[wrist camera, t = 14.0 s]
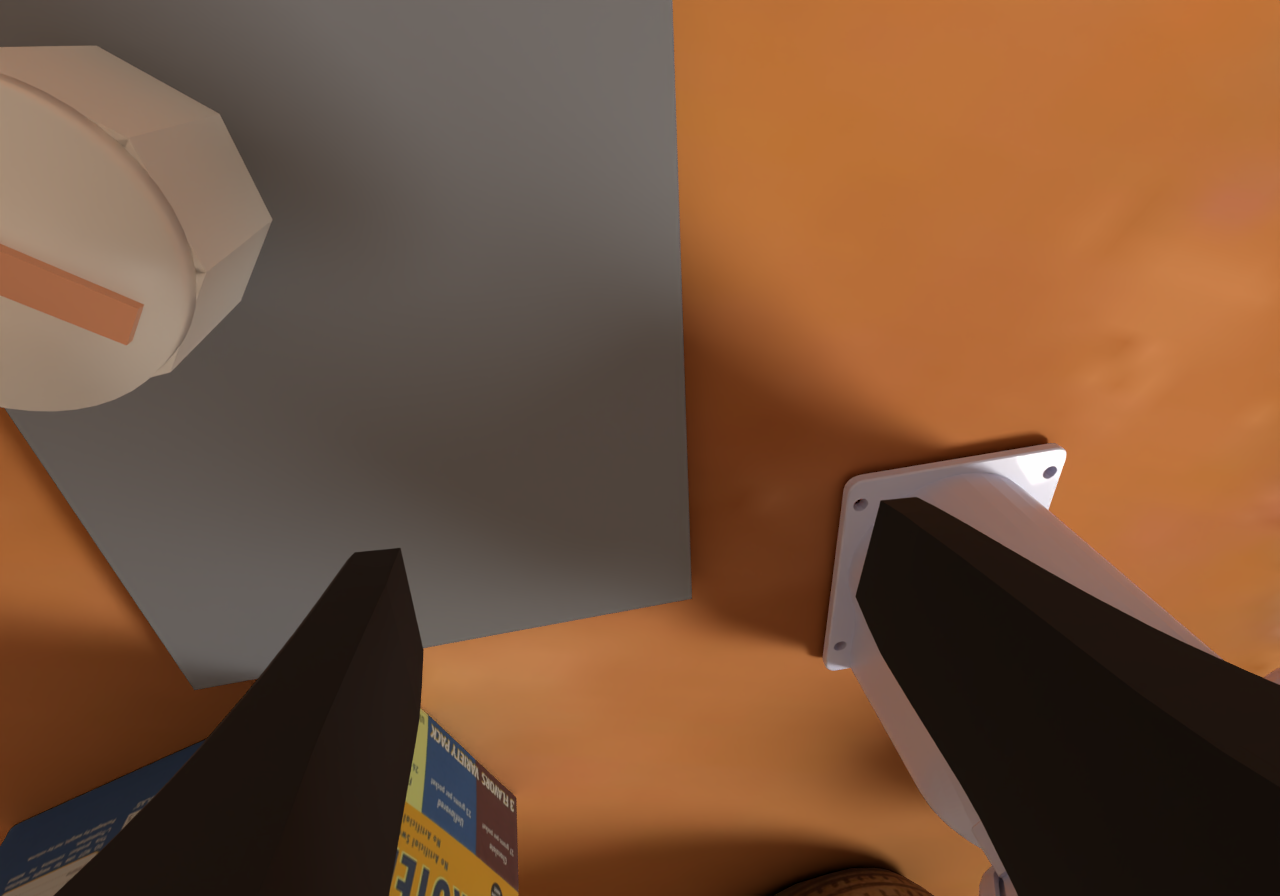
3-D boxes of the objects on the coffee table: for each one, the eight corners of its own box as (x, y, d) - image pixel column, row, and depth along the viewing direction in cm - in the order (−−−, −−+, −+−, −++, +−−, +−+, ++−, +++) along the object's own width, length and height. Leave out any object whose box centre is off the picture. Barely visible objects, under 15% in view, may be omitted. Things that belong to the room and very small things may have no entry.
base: (684, 578, 23) (720, 682, 19) (206, 664, 21) (143, 798, 18) (654, -195, 12) (721, -296, 9) (-319, -158, 11) (-769, -267, 7)
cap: (300, 155, 14) (221, 201, 10) (221, 356, 15) (129, 462, 11) (-6, -14, 11) (-263, -42, 8) (-54, 242, 13) (-280, 326, 9)
